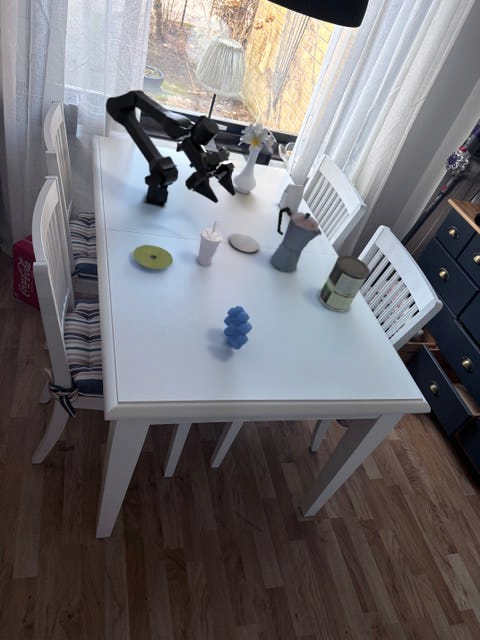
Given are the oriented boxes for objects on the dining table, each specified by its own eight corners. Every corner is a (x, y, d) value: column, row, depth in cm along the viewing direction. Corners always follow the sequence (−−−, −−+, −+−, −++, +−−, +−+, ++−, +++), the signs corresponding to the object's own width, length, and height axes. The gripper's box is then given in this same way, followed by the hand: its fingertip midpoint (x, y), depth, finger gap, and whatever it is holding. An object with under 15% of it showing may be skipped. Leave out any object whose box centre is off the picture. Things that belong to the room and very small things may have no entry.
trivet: (224, 243, 155) (224, 242, 155) (236, 231, 163) (236, 230, 163) (251, 257, 154) (252, 255, 154) (262, 244, 162) (262, 243, 162)
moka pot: (295, 281, 152) (320, 228, 139) (255, 256, 155) (276, 203, 142) (307, 270, 159) (332, 218, 146) (269, 247, 162) (290, 194, 149)
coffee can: (312, 295, 148) (330, 259, 139) (330, 286, 155) (349, 251, 146) (337, 316, 144) (357, 280, 135) (355, 306, 151) (376, 271, 142)
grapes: (252, 360, 120) (267, 327, 112) (227, 361, 117) (241, 327, 109) (238, 327, 127) (252, 294, 120) (215, 327, 125) (227, 293, 117)
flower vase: (253, 180, 197) (273, 121, 181) (260, 203, 184) (282, 141, 168) (222, 174, 193) (240, 112, 177) (228, 197, 180) (247, 132, 164)
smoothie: (215, 258, 148) (227, 220, 139) (212, 270, 143) (225, 231, 134) (195, 252, 147) (206, 213, 138) (191, 264, 142) (202, 224, 133)
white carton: (296, 211, 188) (306, 188, 182) (281, 209, 185) (290, 186, 179) (293, 206, 190) (302, 183, 184) (278, 204, 188) (287, 181, 181)
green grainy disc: (140, 245, 141) (141, 240, 140) (176, 258, 142) (177, 253, 141) (126, 265, 133) (127, 259, 132) (164, 279, 133) (165, 273, 132)
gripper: (192, 143, 133) (224, 190, 134) (230, 134, 146) (259, 177, 147) (171, 167, 141) (201, 211, 141) (209, 156, 154) (236, 197, 155)
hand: (226, 198), depth 146 cm, fingers open, 9 cm apart
